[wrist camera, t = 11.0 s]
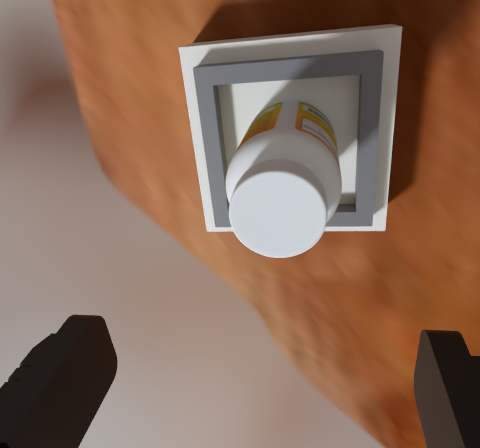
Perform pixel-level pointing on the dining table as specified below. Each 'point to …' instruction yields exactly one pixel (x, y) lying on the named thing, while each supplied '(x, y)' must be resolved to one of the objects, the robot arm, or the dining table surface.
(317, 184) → the supplement bottle
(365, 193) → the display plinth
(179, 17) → the dining table surface
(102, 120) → the dining table surface
